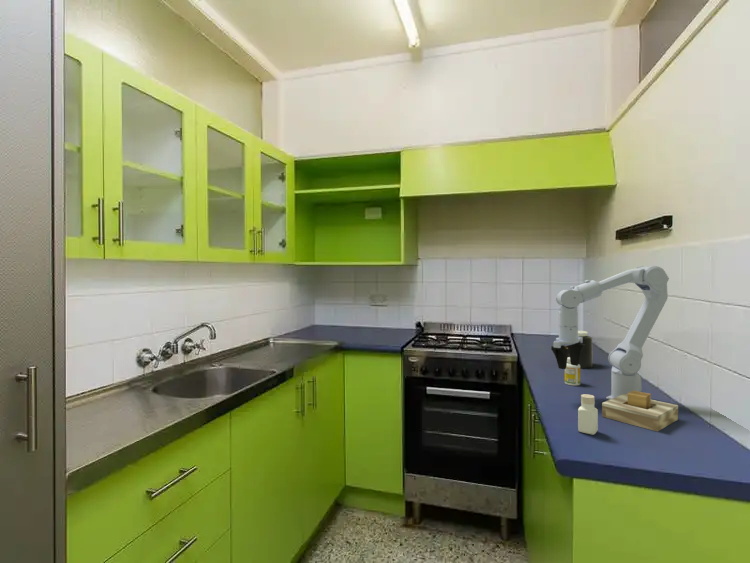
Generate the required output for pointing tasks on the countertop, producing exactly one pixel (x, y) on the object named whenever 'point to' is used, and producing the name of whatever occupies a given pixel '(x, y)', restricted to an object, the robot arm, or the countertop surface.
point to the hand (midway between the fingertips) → (568, 366)
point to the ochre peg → (639, 399)
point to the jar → (585, 351)
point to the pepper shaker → (587, 415)
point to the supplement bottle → (572, 374)
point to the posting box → (640, 413)
